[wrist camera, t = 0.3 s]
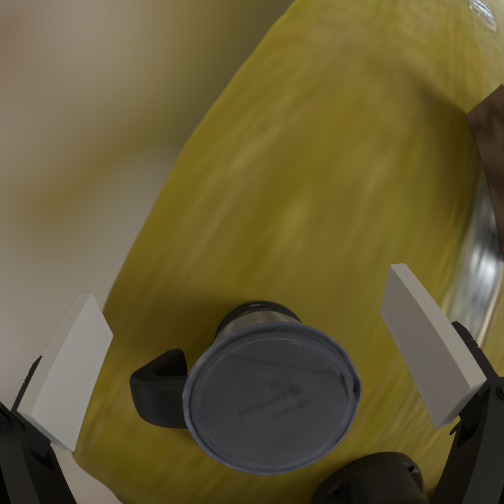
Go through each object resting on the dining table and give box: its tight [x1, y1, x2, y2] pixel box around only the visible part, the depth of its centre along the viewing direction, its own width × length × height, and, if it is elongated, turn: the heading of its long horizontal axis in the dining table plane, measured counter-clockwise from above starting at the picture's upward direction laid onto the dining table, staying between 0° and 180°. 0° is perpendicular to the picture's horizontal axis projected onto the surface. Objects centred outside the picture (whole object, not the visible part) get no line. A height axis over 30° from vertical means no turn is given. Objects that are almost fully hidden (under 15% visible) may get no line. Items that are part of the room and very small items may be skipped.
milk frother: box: [129, 301, 362, 475], centre depth 20 cm, size 14×16×15 cm
